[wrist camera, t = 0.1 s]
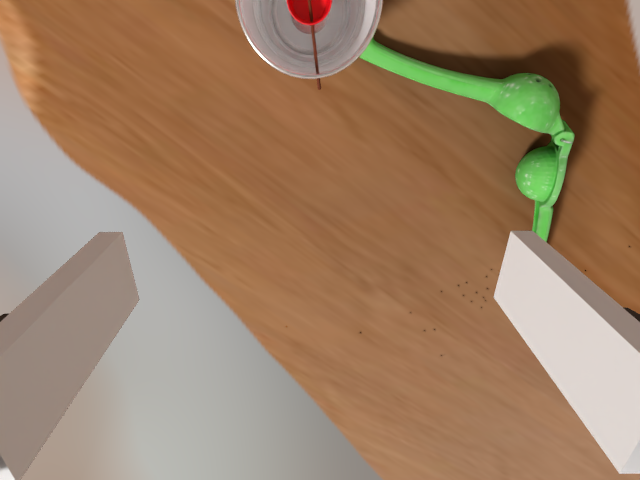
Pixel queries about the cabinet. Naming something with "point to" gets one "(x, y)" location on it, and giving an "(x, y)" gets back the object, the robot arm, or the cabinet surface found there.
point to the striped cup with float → (309, 33)
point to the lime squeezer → (515, 103)
